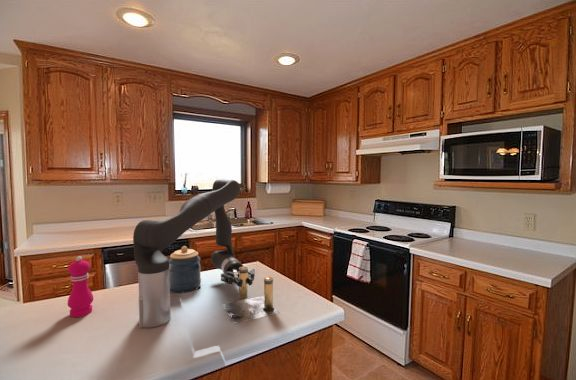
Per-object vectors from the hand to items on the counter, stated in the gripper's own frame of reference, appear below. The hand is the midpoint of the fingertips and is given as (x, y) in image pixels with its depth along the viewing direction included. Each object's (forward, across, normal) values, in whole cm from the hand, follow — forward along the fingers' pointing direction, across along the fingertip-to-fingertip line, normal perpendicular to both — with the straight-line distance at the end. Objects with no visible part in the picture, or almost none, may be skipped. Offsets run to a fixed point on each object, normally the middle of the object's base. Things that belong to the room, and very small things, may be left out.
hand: (245, 283), depth 99 cm
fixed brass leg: (+4, +7, +9) cm, 12 cm away
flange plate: (+1, +1, +10) cm, 10 cm away
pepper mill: (-24, -52, +11) cm, 58 cm away
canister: (-32, -17, +10) cm, 38 cm away
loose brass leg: (-3, 0, +6) cm, 7 cm away
